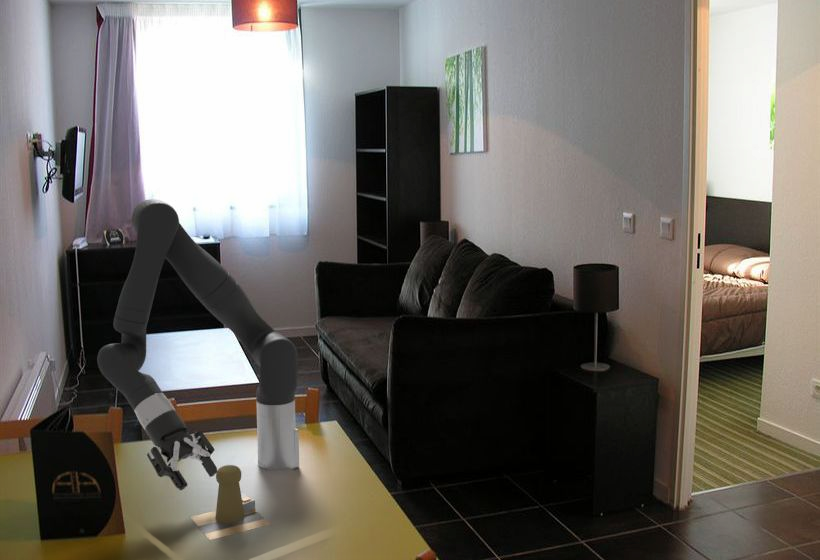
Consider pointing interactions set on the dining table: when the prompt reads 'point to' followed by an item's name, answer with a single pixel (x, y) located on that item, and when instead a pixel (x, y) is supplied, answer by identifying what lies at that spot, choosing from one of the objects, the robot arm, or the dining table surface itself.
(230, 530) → the plywood board
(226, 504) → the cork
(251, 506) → the block
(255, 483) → the dining table surface
